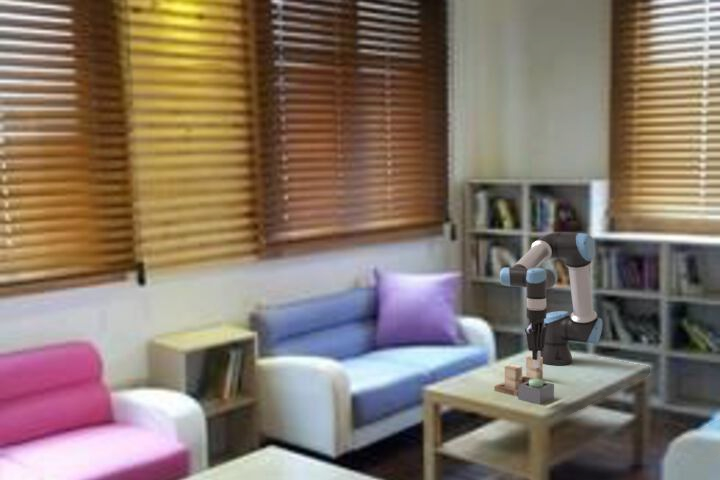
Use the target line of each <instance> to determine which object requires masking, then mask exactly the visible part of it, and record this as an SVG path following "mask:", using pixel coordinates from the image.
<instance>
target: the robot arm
mask: <svg viewBox="0 0 720 480" xmlns="http://www.w3.org/2000/svg"><path fill="white" fill-rule="evenodd" d="M595 257H596V244H595V240H594V238H593V236H591V234H589V233H582V232H578V233H577V232H559V231H558V232H551V233H547V234H544V235H543V236H541V237H539V238H538V239H535V241H534V242H532V244H531V246H530V249H529V250H528V251H527V252H526V253H525V254H524V255H523V256H522V257H520V259H519V260H518V261H516V262H515V264H514V265H513V266H512V267H509V266H508V267H502V268H501V269H500V273H499V282H500V284H501V285H503V286H506V287H514V288H515V287H516V288H517V287H518V288H526V307H527V308H526V318H527V319H528V320H529V321H528V326H527V327H525V328H524V332H525V335H526V342H527V348H528V351H529V352H532V353H531V354H532V355H531V356H532V359H533V367H535V368H540V367H541V357H543V364H544V365H551V366H566V365H570V364H572V363H573V355H572V352H571V349H570V346H569V342H575V343H576V342H577V343H586V344H597V343H598V342H599V340H600V338H601V334H602V331H603V319H602V318H600V317H598V313H597V312H596V311H595V310H594V307H593V298H592V289H591V288H592V287H591V278H590V277H591V275H590V267H589V266H590V265H591V264H592V262H593V261H594V259H595ZM549 259H551V260H552V259H556V260H557V259H558V260H563V262H564V266H565V267H566V268H568V275H569V277H568V278H569V283H570V285H569V286H570V293H571V302H572V303H571V304H572V309H573V312H571V314H570V313H569V311H566V310H565V311H564V310H560V311H559V310H558V311H556V310H555V311H551V312H547V290H549V289H551V288H552V287H554V286H555V285H556V284H557V282H558V273H556V271H555V270H554V269H551V268H541V267H540V268H539V266H541V264H543V262H547V261H548V260H549Z"/></svg>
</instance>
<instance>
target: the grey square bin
mask: <svg viewBox="0 0 720 480" xmlns="http://www.w3.org/2000/svg"><path fill="white" fill-rule="evenodd" d="M554 398H555V384H554V383H550V382H543V387H540V388H536V387H531V386H529V381H527V382H524V383H522V384H519V385H518V396H517V400H520V401H522V402H527V403H532V404H536V405H539V406H540V405H543V404H545V403H547V402H550V401H552V400H554Z"/></svg>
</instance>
